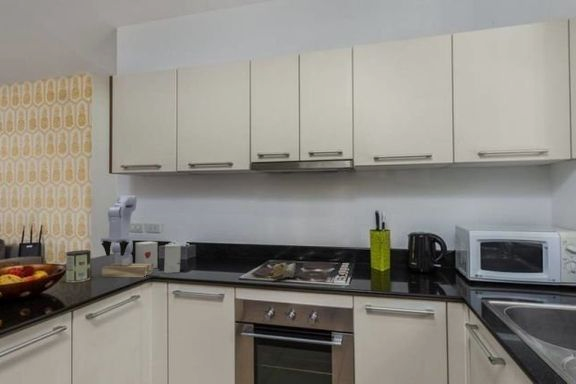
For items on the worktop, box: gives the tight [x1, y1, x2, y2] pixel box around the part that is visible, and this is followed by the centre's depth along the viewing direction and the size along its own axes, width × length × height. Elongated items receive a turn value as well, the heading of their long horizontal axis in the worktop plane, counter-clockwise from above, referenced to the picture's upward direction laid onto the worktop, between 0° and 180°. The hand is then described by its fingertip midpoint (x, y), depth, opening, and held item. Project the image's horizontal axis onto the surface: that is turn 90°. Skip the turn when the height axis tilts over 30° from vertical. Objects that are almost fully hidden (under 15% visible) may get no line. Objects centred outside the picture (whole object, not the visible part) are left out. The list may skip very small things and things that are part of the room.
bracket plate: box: [122, 257, 130, 267], centre depth 173 cm, size 4×2×8 cm, turn 178°
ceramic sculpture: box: [264, 261, 296, 280], centre depth 163 cm, size 11×9×15 cm
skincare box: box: [163, 243, 182, 274], centre depth 180 cm, size 8×6×15 cm
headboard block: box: [101, 262, 154, 278], centre depth 173 cm, size 10×22×5 cm, turn 88°
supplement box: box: [135, 241, 159, 269], centre depth 190 cm, size 9×9×15 cm
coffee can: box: [65, 249, 92, 284], centre depth 162 cm, size 10×10×14 cm
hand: (115, 255), depth 172 cm, fingers open, 7 cm apart
